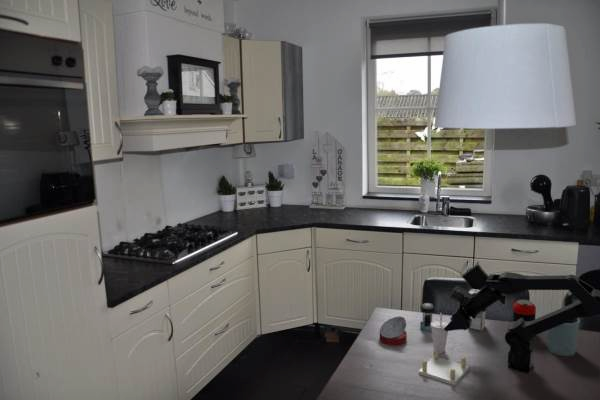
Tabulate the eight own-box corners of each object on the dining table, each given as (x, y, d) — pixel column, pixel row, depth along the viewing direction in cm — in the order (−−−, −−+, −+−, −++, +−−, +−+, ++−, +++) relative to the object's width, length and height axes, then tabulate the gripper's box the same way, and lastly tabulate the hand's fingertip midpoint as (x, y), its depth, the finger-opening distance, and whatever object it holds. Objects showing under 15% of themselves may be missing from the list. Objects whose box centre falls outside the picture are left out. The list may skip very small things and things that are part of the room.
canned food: (405, 356, 183) (409, 339, 176) (377, 351, 184) (380, 335, 178) (405, 330, 191) (409, 313, 185) (379, 326, 193) (381, 310, 187)
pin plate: (469, 369, 163) (469, 357, 162) (455, 385, 154) (455, 373, 153) (433, 358, 170) (434, 347, 170) (418, 373, 161) (418, 362, 160)
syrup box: (485, 325, 195) (486, 290, 192) (481, 331, 190) (483, 295, 188) (470, 323, 198) (471, 287, 195) (466, 328, 193) (467, 292, 191)
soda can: (513, 336, 186) (514, 305, 184) (511, 327, 193) (513, 297, 191) (535, 338, 183) (537, 307, 181) (533, 329, 190) (534, 299, 188)
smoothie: (435, 355, 172) (436, 317, 170) (426, 347, 179) (427, 310, 176) (452, 352, 174) (453, 314, 172) (442, 344, 180) (443, 308, 178)
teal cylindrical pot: (579, 358, 168) (582, 325, 166) (546, 354, 171) (548, 321, 169) (574, 345, 177) (576, 313, 175) (542, 341, 181) (544, 310, 178)
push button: (435, 326, 196) (436, 301, 194) (439, 332, 191) (440, 307, 189) (418, 326, 196) (419, 302, 194) (422, 332, 191) (422, 307, 189)
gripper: (471, 272, 176) (438, 297, 183) (460, 289, 160) (424, 316, 167) (493, 297, 173) (459, 321, 181) (485, 317, 157) (448, 343, 165)
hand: (448, 324), depth 173 cm, fingers open, 9 cm apart
